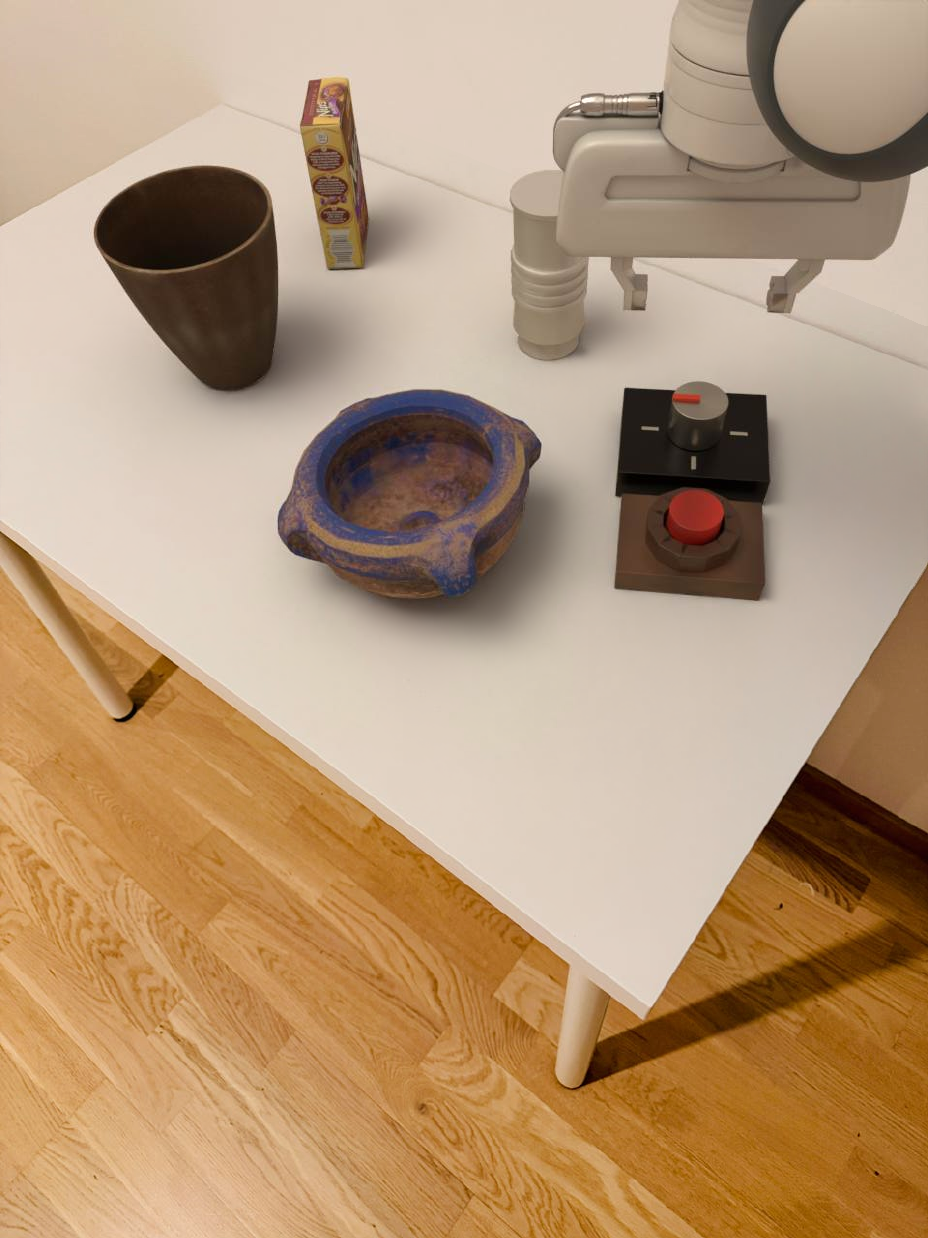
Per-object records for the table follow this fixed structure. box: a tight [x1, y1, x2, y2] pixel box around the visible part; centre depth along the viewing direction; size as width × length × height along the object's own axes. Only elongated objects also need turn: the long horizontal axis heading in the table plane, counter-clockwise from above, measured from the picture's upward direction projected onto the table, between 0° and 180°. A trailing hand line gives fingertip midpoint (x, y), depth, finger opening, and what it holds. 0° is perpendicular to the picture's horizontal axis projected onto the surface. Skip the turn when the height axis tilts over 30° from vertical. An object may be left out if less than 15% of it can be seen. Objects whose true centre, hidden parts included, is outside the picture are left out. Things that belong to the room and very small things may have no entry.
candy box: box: [299, 76, 370, 270], centre depth 92 cm, size 9×4×15 cm, turn 179°
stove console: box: [614, 387, 771, 507], centre depth 76 cm, size 12×10×3 cm
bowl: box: [277, 388, 543, 599], centre depth 70 cm, size 18×18×10 cm
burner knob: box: [667, 380, 728, 451], centre depth 74 cm, size 4×4×4 cm
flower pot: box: [93, 164, 279, 392], centre depth 82 cm, size 15×15×16 cm
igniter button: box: [667, 490, 724, 545], centre depth 68 cm, size 4×4×2 cm
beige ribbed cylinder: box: [509, 169, 590, 361], centre depth 81 cm, size 7×7×15 cm
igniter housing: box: [613, 487, 766, 601], centre depth 70 cm, size 11×8×4 cm
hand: (705, 306), depth 61 cm, fingers open, 8 cm apart
